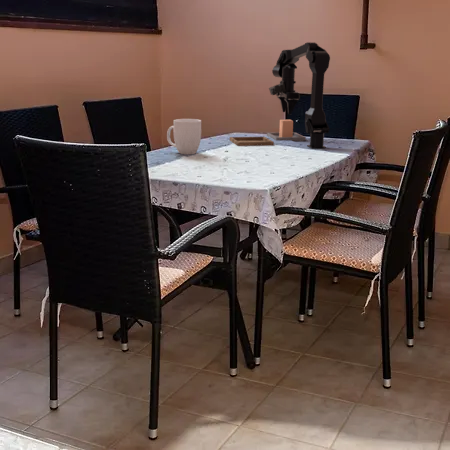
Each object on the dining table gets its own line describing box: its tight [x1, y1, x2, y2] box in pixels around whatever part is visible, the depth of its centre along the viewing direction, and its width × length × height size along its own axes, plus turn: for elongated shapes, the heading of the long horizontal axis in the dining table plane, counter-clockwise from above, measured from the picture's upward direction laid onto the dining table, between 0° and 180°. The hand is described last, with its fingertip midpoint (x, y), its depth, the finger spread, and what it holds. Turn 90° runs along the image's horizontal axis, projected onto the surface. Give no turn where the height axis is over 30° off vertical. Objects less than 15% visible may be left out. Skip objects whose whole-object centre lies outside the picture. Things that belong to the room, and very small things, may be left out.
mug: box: [166, 118, 202, 155], centre depth 260 cm, size 15×11×13 cm
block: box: [278, 119, 294, 137], centre depth 302 cm, size 5×5×8 cm
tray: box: [266, 131, 307, 142], centre depth 303 cm, size 16×14×2 cm
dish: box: [229, 136, 275, 147], centre depth 286 cm, size 16×16×2 cm
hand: (286, 113), depth 300 cm, fingers open, 9 cm apart
